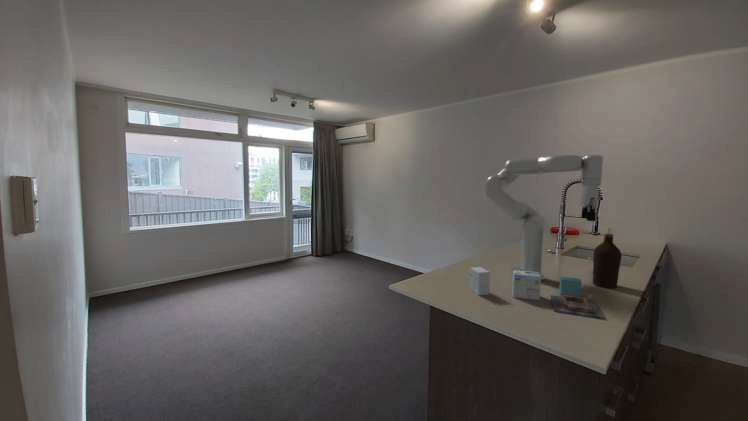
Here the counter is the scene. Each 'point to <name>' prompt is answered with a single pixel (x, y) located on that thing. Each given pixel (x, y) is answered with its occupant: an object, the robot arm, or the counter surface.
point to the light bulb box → (526, 285)
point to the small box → (479, 281)
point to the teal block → (570, 286)
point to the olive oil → (606, 263)
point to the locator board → (576, 306)
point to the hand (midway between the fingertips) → (588, 219)
